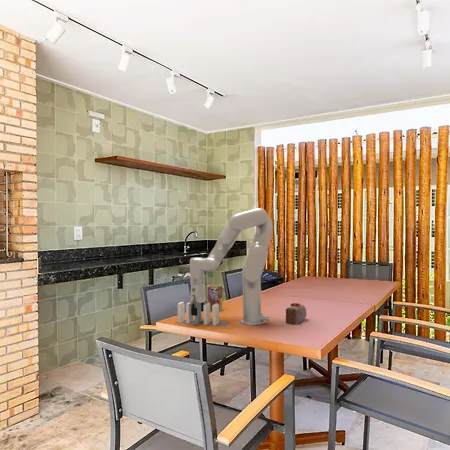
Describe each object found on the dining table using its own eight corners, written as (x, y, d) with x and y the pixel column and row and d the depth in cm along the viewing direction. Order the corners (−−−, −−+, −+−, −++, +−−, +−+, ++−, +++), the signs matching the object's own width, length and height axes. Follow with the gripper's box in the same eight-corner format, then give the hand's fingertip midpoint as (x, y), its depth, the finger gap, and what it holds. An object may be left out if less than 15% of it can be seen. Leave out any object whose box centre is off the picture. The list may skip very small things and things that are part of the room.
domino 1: (184, 320, 212) (184, 301, 212) (180, 322, 207) (180, 303, 207) (182, 320, 212) (181, 301, 212) (177, 322, 208) (177, 303, 208)
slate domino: (201, 321, 208) (201, 302, 208) (197, 323, 204) (197, 304, 204) (198, 321, 209) (198, 302, 209) (194, 323, 204) (194, 304, 204)
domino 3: (210, 322, 206) (209, 303, 206) (206, 324, 202) (206, 305, 202) (207, 322, 207) (207, 303, 207) (203, 324, 202) (203, 305, 202)
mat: (230, 323, 204) (230, 322, 204) (225, 327, 197) (225, 326, 197) (182, 320, 214) (182, 319, 214) (176, 323, 207) (176, 322, 207)
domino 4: (219, 322, 205) (218, 303, 205) (215, 325, 200) (215, 305, 200) (216, 322, 205) (215, 303, 205) (212, 325, 201) (212, 305, 200)
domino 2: (193, 320, 210) (192, 302, 210) (189, 323, 205) (188, 304, 205) (190, 320, 211) (190, 302, 210) (186, 323, 206) (185, 304, 206)
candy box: (222, 309, 239) (221, 284, 239) (223, 310, 234) (222, 285, 234) (207, 310, 238) (207, 285, 238) (208, 311, 234) (207, 286, 234)
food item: (293, 318, 214) (293, 300, 214) (307, 319, 210) (307, 301, 210) (284, 323, 202) (283, 304, 202) (299, 325, 198) (298, 306, 198)
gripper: (196, 283, 197) (197, 317, 197) (210, 278, 213) (211, 310, 213) (183, 283, 199) (184, 316, 199) (197, 278, 215) (198, 309, 216)
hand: (198, 313), depth 206 cm, fingers open, 9 cm apart
